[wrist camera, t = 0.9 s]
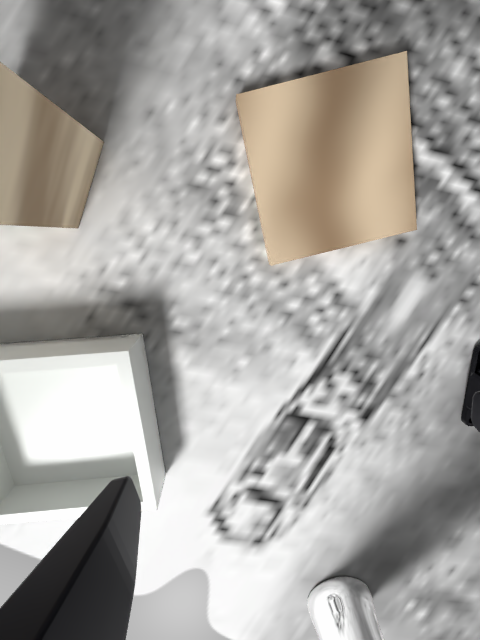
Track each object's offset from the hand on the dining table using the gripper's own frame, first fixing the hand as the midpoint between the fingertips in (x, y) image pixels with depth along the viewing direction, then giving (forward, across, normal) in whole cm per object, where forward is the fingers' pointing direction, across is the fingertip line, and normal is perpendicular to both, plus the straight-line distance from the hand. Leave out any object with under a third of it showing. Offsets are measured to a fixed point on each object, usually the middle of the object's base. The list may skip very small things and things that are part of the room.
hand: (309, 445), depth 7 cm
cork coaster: (+12, -6, -8) cm, 16 cm away
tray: (+13, +13, +5) cm, 19 cm away
